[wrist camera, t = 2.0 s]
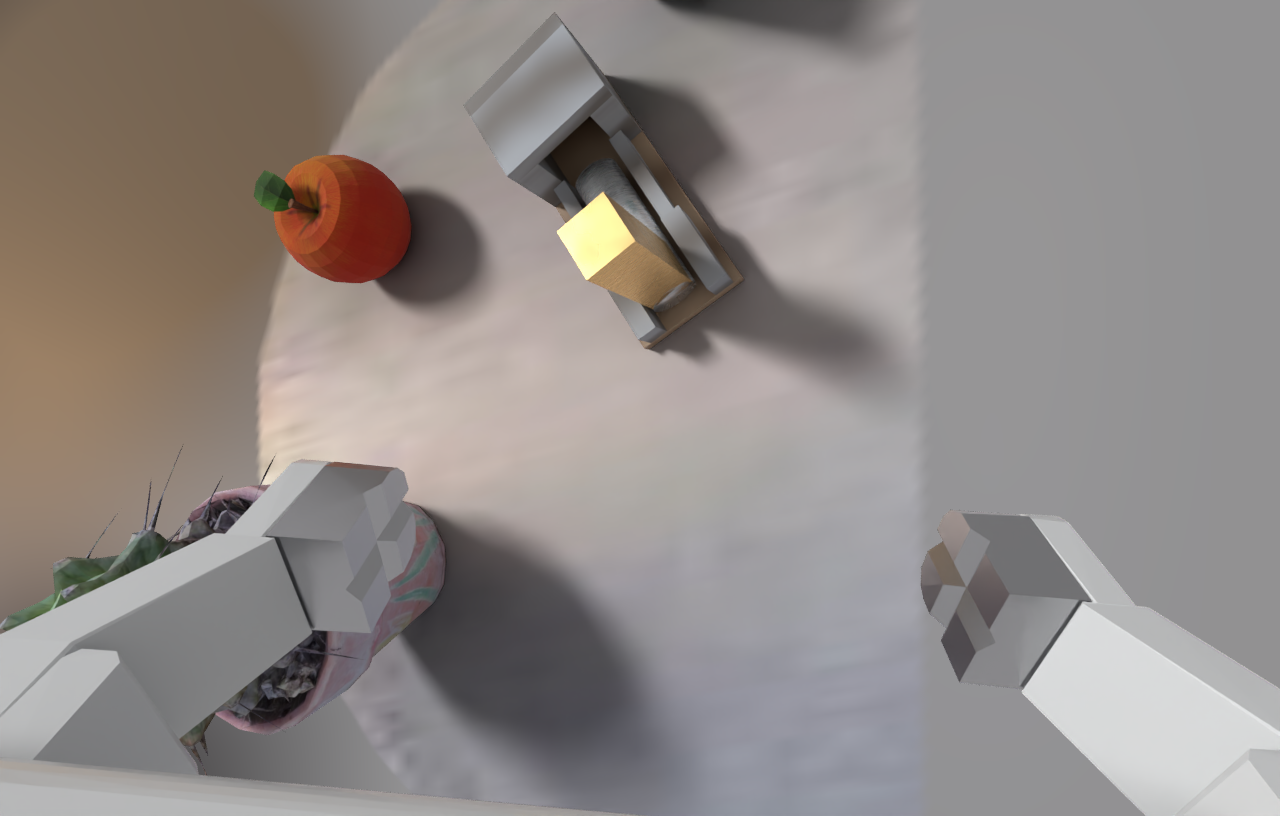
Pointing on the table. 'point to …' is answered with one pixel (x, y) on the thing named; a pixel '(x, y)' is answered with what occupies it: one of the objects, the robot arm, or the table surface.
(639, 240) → the tall wooden block
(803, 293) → the table surface
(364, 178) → the fruit
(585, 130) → the rail base
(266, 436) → the table surface
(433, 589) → the potted plant
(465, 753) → the table surface
